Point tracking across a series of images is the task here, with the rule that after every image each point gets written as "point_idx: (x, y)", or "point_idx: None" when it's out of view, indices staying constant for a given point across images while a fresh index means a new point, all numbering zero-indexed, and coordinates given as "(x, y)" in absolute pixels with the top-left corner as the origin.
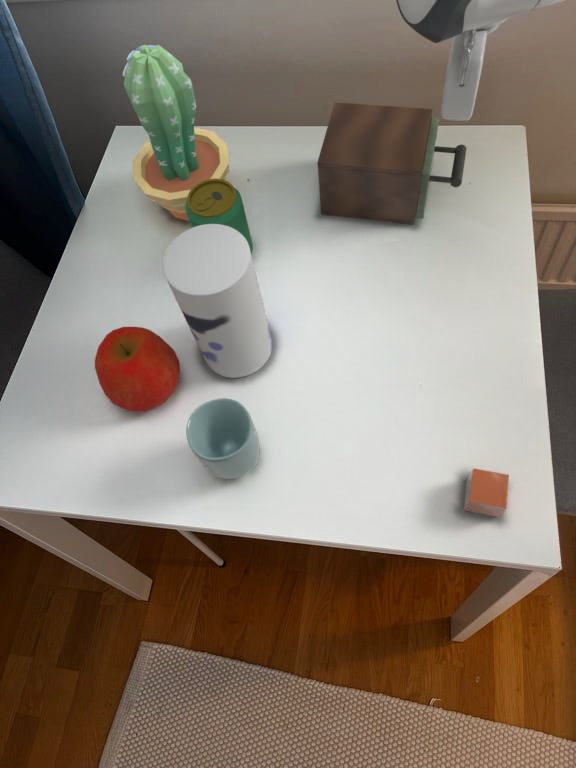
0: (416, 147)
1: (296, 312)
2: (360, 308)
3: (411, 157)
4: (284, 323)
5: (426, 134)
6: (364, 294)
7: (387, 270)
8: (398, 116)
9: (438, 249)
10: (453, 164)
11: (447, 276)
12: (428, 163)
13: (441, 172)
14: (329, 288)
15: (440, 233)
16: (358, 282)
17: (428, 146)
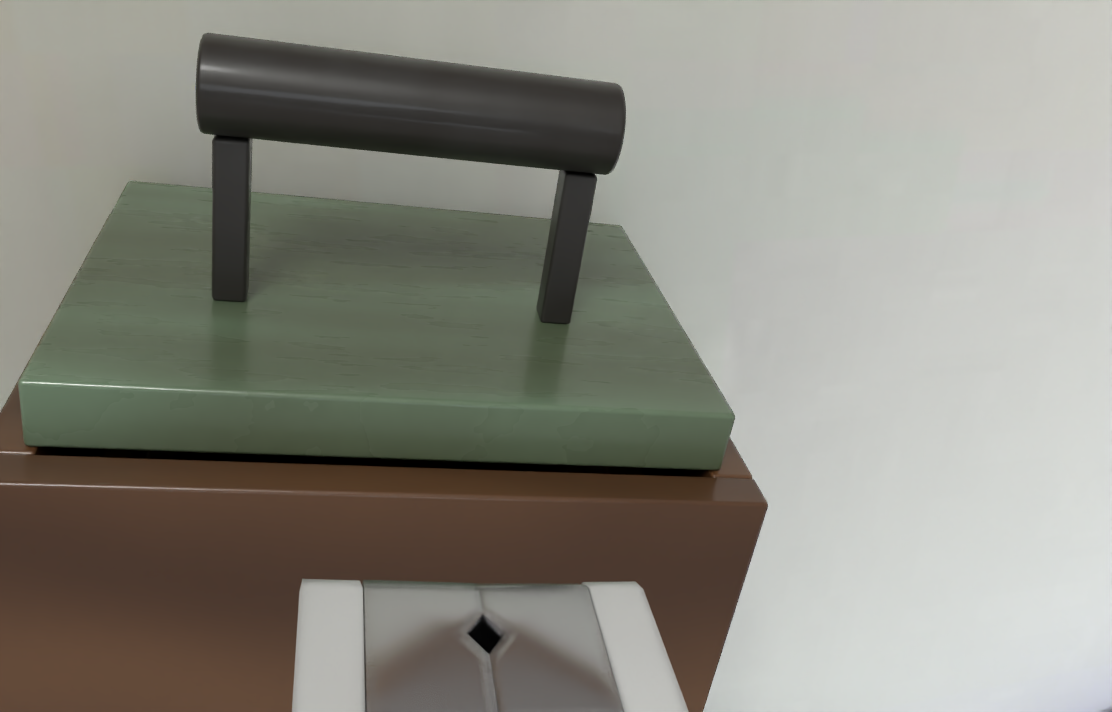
0: (504, 558)
1: (1036, 655)
2: (1082, 450)
3: (611, 577)
4: (1072, 680)
5: (337, 502)
6: (1017, 443)
7: (908, 363)
8: (125, 709)
9: (817, 116)
10: (421, 155)
11: (1008, 65)
12: (619, 431)
13: (160, 98)
14: (954, 572)
15: (701, 104)
16: (948, 473)
17: (424, 445)
